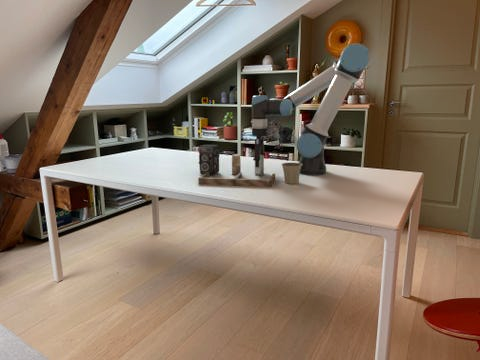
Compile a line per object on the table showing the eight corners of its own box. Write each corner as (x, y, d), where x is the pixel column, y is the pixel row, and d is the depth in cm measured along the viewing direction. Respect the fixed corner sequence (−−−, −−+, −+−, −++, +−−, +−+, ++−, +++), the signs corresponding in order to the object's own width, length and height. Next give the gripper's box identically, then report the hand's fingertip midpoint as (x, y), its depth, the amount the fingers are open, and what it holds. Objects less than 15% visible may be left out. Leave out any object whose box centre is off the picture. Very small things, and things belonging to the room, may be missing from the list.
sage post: (264, 174, 183) (264, 155, 181) (263, 176, 179) (263, 156, 177) (255, 173, 184) (255, 154, 182) (254, 175, 180) (254, 156, 178)
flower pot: (277, 182, 167) (277, 164, 165) (290, 179, 172) (291, 161, 170) (292, 186, 160) (292, 167, 157) (305, 182, 165) (306, 164, 163)
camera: (195, 175, 181) (194, 146, 178) (203, 171, 191) (202, 143, 188) (214, 177, 178) (213, 147, 175) (222, 172, 188) (221, 144, 185)
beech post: (241, 173, 186) (241, 154, 183) (239, 175, 181) (239, 156, 179) (233, 173, 186) (232, 154, 184) (231, 175, 182) (230, 155, 180)
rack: (275, 179, 171) (275, 173, 171) (271, 187, 158) (272, 180, 157) (207, 177, 178) (206, 171, 177) (198, 184, 165) (198, 177, 164)
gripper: (255, 125, 188) (255, 165, 193) (247, 129, 165) (247, 175, 171) (269, 125, 187) (269, 166, 192) (263, 130, 164) (263, 176, 169)
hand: (259, 170), depth 181 cm, fingers open, 11 cm apart
